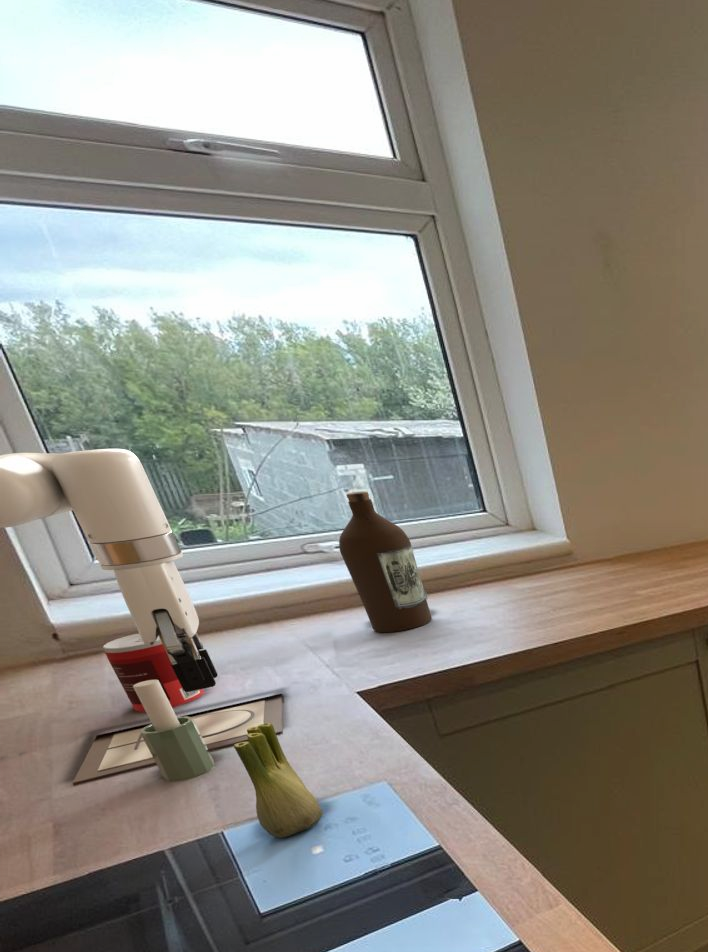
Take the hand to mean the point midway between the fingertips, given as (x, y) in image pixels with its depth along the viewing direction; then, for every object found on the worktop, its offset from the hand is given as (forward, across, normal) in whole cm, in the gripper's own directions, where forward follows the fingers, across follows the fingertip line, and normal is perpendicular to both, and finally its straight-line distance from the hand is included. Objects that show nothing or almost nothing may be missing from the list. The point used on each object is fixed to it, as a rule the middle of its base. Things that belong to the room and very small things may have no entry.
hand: (201, 682), depth 109 cm
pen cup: (+7, +14, -3) cm, 16 cm away
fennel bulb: (+8, +40, +7) cm, 42 cm away
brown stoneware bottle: (+8, -40, +24) cm, 47 cm away
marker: (+7, +14, -2) cm, 16 cm away
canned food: (+8, -18, -6) cm, 20 cm away
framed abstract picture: (+7, -1, -4) cm, 8 cm away
